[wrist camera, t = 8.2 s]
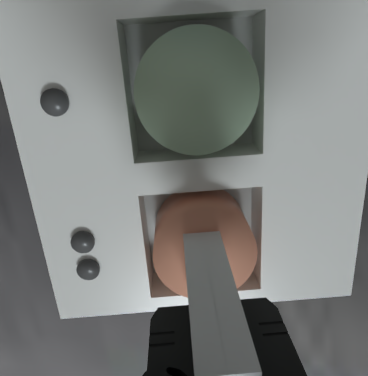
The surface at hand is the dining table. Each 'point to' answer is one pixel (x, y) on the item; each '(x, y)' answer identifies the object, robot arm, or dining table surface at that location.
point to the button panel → (181, 163)
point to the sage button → (196, 89)
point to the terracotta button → (195, 223)
